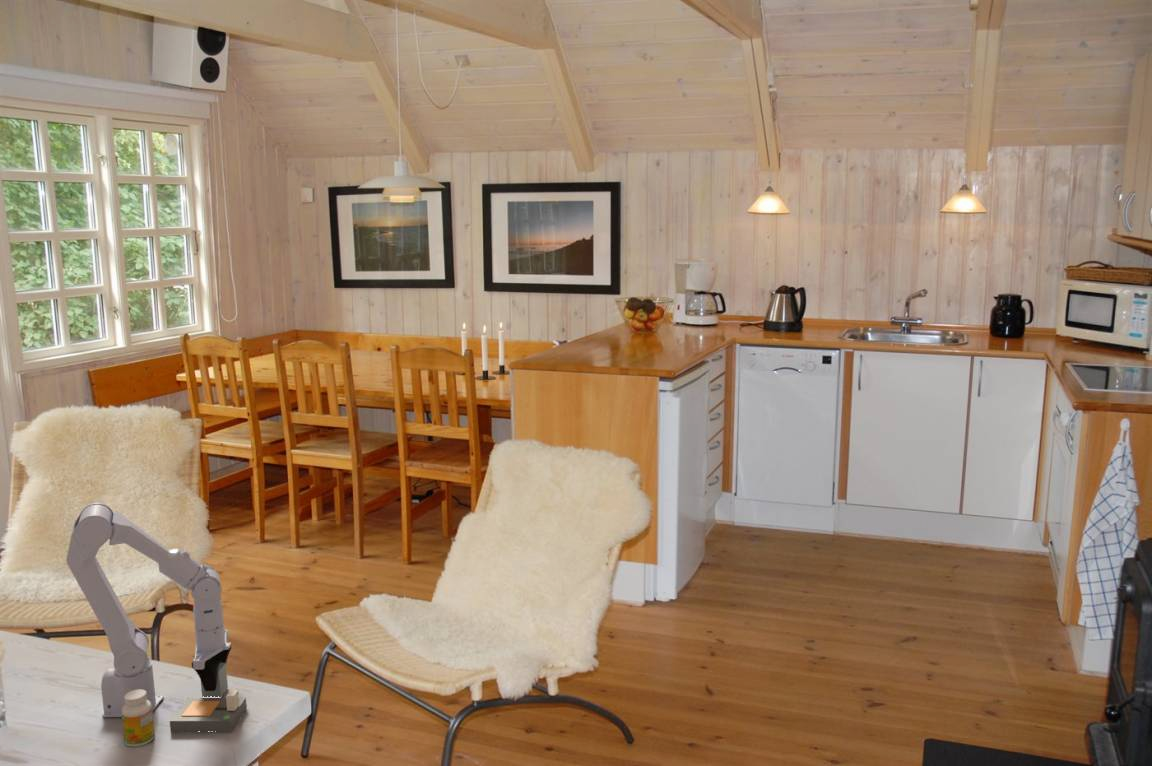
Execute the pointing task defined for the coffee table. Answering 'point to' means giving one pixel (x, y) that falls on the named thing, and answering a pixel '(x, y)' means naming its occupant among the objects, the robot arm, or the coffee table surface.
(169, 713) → the coffee table surface
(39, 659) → the coffee table surface
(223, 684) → the block
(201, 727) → the switch box
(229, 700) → the lever
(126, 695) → the supplement bottle
